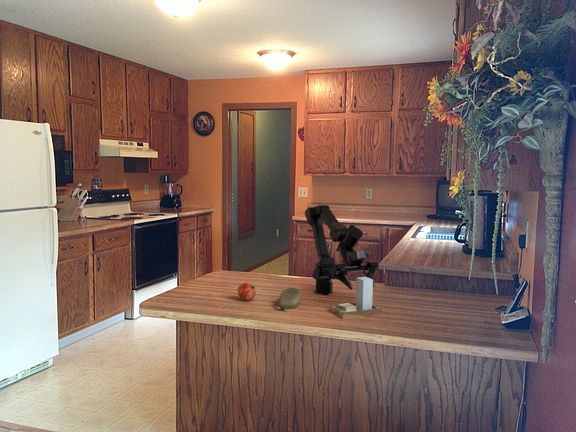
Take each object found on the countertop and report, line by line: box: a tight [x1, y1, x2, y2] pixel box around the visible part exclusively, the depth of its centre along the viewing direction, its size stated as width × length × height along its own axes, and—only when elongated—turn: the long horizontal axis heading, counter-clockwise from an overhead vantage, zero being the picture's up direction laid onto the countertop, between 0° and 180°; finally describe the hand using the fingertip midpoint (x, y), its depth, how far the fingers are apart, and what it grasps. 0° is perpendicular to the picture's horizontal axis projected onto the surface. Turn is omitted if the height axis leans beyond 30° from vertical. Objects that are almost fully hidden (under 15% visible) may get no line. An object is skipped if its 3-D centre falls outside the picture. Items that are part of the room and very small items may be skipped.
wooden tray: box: [329, 302, 383, 320], centre depth 177 cm, size 10×16×3 cm, turn 112°
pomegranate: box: [236, 282, 257, 302], centre depth 195 cm, size 7×7×10 cm
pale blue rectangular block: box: [355, 276, 374, 311], centre depth 178 cm, size 5×4×12 cm
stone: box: [278, 287, 303, 311], centre depth 187 cm, size 9×14×10 cm, turn 173°
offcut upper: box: [338, 302, 356, 312], centre depth 176 cm, size 5×4×2 cm
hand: (362, 287), depth 179 cm, fingers open, 9 cm apart
